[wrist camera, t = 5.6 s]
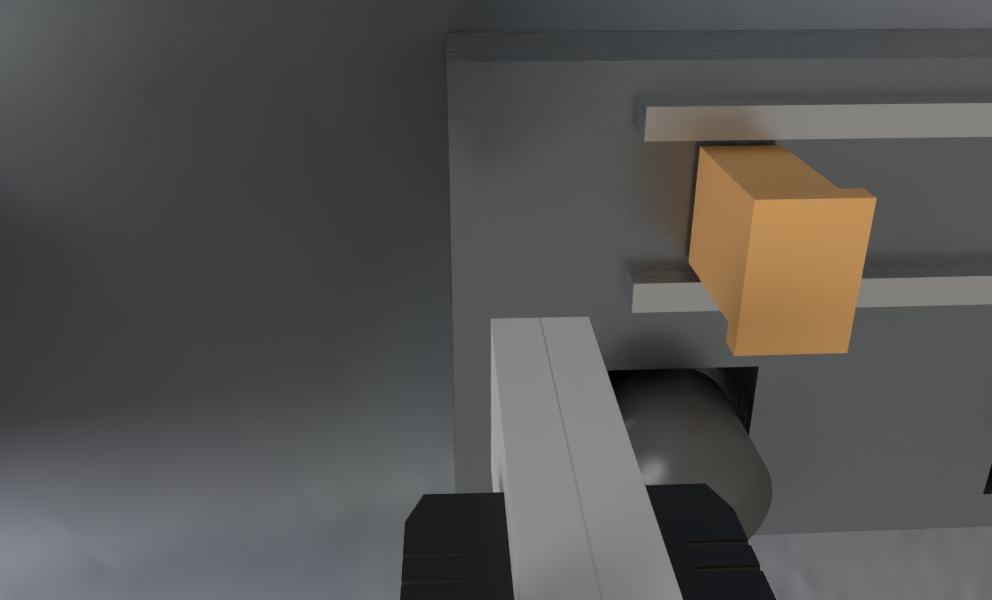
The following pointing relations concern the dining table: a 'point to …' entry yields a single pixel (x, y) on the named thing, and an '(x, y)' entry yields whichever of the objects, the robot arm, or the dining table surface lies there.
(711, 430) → the black button
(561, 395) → the robot arm
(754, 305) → the toggle knob
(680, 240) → the panel
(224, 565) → the dining table surface
